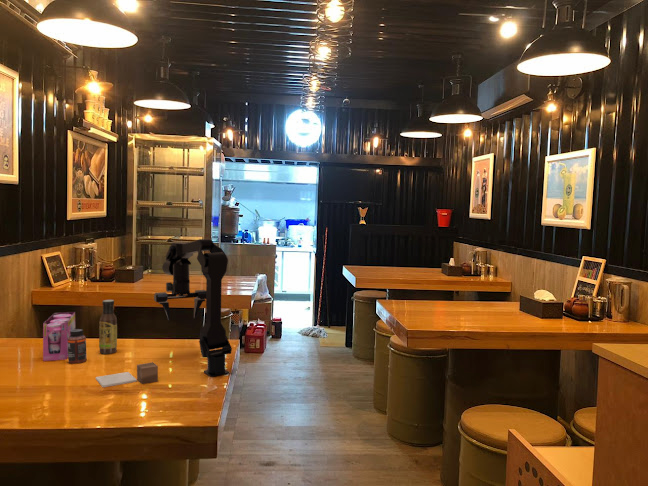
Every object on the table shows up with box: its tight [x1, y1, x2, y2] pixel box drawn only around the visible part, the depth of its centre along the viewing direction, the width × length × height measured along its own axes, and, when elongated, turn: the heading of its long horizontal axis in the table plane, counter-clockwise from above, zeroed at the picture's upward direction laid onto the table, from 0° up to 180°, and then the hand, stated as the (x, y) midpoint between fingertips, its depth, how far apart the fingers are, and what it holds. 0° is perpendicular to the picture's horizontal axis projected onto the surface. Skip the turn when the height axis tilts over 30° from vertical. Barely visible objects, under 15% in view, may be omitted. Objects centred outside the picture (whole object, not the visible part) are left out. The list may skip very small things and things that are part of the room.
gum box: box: [42, 311, 76, 362], centre depth 197 cm, size 24×8×14 cm, turn 18°
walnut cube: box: [136, 361, 159, 385], centre depth 164 cm, size 5×5×5 cm
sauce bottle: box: [98, 299, 118, 355], centre depth 198 cm, size 6×6×20 cm
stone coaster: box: [95, 371, 138, 388], centre depth 165 cm, size 10×10×1 cm
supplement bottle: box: [67, 328, 87, 364], centre depth 185 cm, size 6×6×11 cm
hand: (182, 319), depth 191 cm, fingers open, 9 cm apart
